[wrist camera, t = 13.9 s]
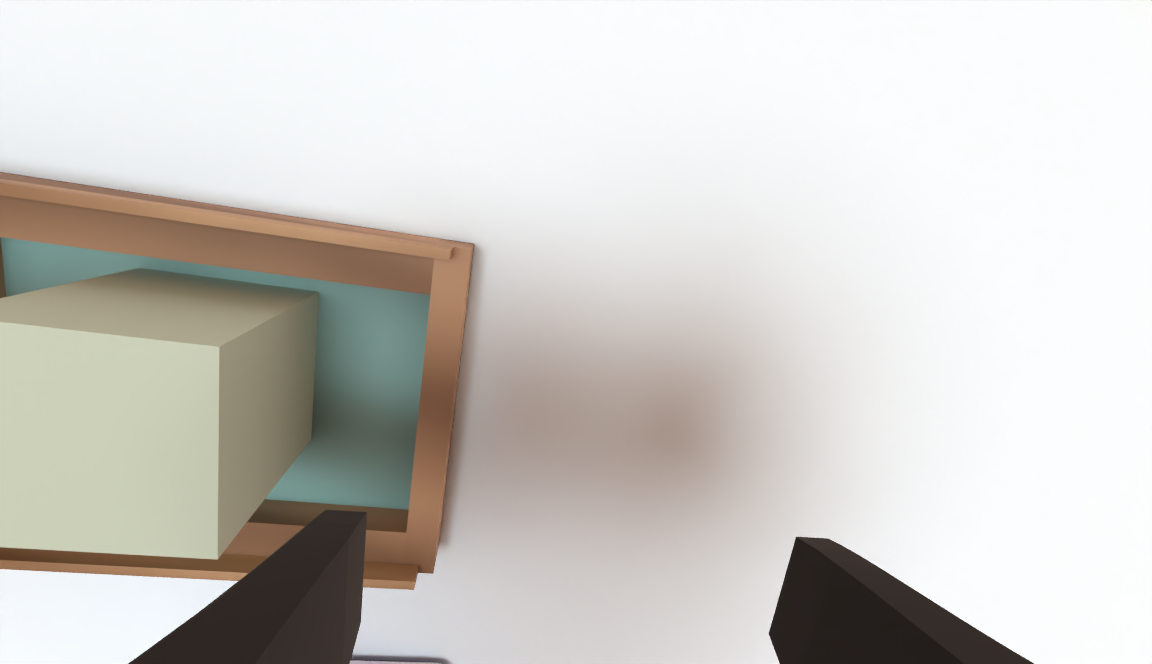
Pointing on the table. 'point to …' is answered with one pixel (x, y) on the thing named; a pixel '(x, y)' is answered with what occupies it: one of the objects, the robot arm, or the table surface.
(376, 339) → the board
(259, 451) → the sage block
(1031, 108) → the table surface
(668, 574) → the table surface
